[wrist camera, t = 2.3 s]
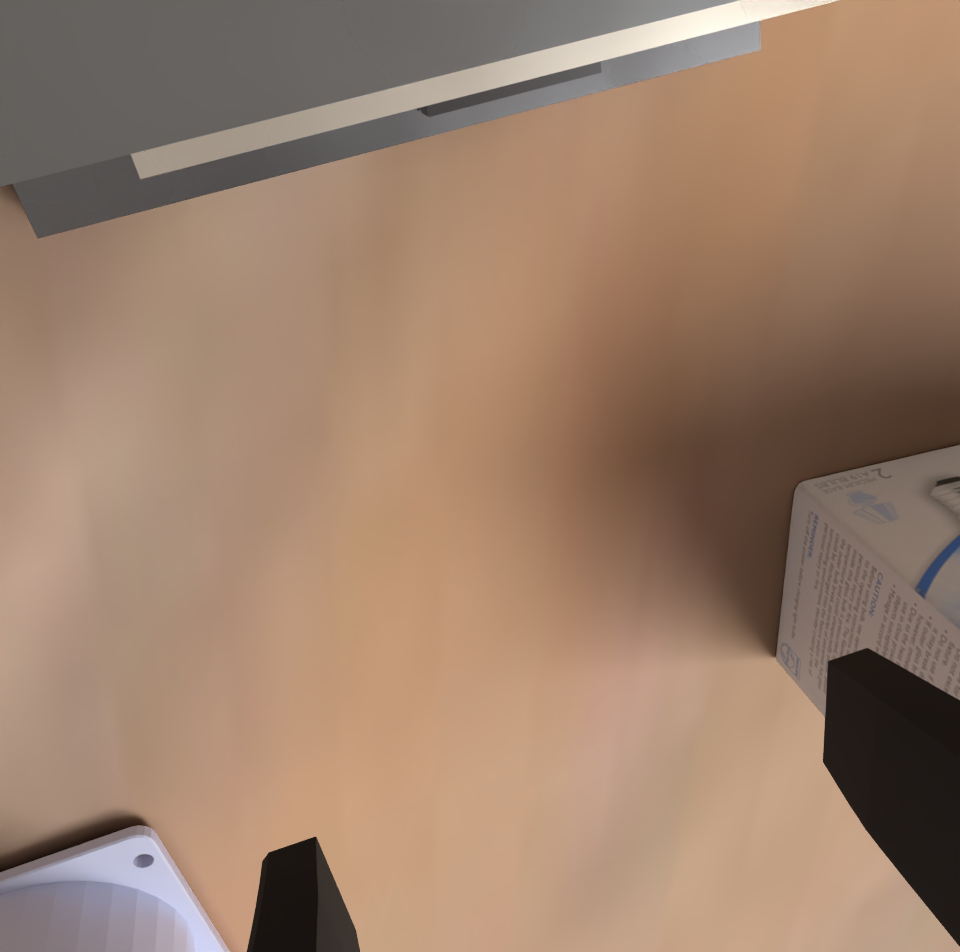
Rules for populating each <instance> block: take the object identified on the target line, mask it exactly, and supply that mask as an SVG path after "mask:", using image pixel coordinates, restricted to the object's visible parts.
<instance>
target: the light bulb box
mask: <svg viewBox="0 0 960 952" xmlns="http://www.w3.org/2000/svg"><path fill="white" fill-rule="evenodd" d="M865 648H869V649H871V650H873V651H874V652H876V653H878V654H880V655H882V656H883V657H885V658H887V659H889V660H890V661H892V662H894V663H896V664H897V665H899V666H901V667H903V668H904V669H906V670H908V671H910V672H911V673H913V674H915V675H917V676H918V677H920V678H922V679H923V680H925V681H927V682H929V683H930V684H932V685H934V686H936V687H937V688H939V689H941V690H943V691H944V692H946V693H948V694H950V695H951V696H953V697H955V698H957V699H959V700H960V445H957V446H952V447H948V448H944V449H939V450H935V451H930V452H926V453H922V454H917V455H913V456H909V457H905V458H900V459H896V460H892V461H888V462H884V463H880V464H875V465H871V466H866V467H862V468H857V469H853V470H848V471H844V472H840V473H836V474H831V475H828V476H824V477H819V478H814V479H810V480H806V481H803V482H801V483H799V484H798V485H797V486H796V489H795V492H794V498H793V506H792V514H791V523H790V531H789V543H788V551H787V559H786V569H785V578H784V587H783V598H782V604H781V616H780V625H779V634H778V643H777V653H776V660H777V662H778V663H779V664H780V665H781V666H782V667H783V669H784V670H785V671H786V672H787V673H788V675H789V676H790V677H791V678H792V679H793V680H794V681H795V683H796V684H797V685H798V686H799V687H800V688H801V690H802V691H803V692H804V693H805V694H806V695H807V697H808V698H809V699H810V700H811V701H812V703H813V704H814V705H815V706H816V707H817V708H818V710H819V711H820V712H821V713H822V714H823V715H824V717H825V711H826V690H827V669H828V661H830V660H833V659H836V658H839V657H842V656H845V655H848V654H850V653H853V652H856V651H859V650H862V649H865Z"/></svg>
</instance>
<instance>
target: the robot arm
mask: <svg viewBox="0 0 960 952" xmlns="http://www.w3.org/2000/svg"><path fill="white" fill-rule="evenodd" d="M823 763H824V764H825V766H826V767H827V769H828V771H829V772H830V774H831V776H832V777H833V779H834V780H835V782H836V784H837V785H838V787H839V789H840V790H841V792H842V793H843V795H844V797H845V798H846V800H847V801H848V803H849V805H850V806H851V808H852V809H853V811H854V812H855V814H856V815H857V817H858V818H859V820H860V821H861V823H862V824H863V826H864V828H865V829H866V830H867V832H868V833H869V834H870V836H871V837H872V838H873V839H874V841H875V842H876V843H877V844H878V846H879V847H880V848H881V850H882V851H883V852H884V853H885V855H886V856H887V857H888V858H889V860H890V861H891V862H892V863H893V865H894V866H895V867H896V868H897V870H898V871H899V872H900V873H901V875H902V876H903V877H904V878H905V880H906V881H907V882H908V883H909V885H910V886H911V887H912V888H913V889H914V891H915V892H916V893H917V894H918V896H919V897H920V898H921V899H922V901H923V902H924V903H925V904H926V906H927V907H928V908H929V909H930V910H931V912H932V913H933V914H934V915H935V917H936V918H937V919H938V920H939V922H940V923H941V924H942V925H943V926H944V928H945V929H946V930H947V931H948V933H949V934H950V935H951V936H952V938H953V939H954V940H955V941H956V943H957V944H958V945H959V946H960V700H959V699H957V698H955V697H953V696H951V695H950V694H948V693H946V692H944V691H943V690H941V689H939V688H937V687H936V686H934V685H932V684H930V683H929V682H927V681H925V680H923V679H922V678H920V677H918V676H917V675H915V674H913V673H911V672H910V671H908V670H906V669H904V668H903V667H901V666H899V665H897V664H896V663H894V662H892V661H890V660H889V659H887V658H885V657H883V656H882V655H880V654H878V653H876V652H874V651H873V650H871V649H869V648H865V649H862V650H859V651H856V652H853V653H850V654H848V655H845V656H842V657H839V658H836V659H833V660H830V661H828V669H827V690H826V711H825V732H824V753H823ZM142 854H148V855H144V856H142ZM0 952H230V951H229V949H228V948H227V946H226V945H225V943H224V941H223V940H222V938H221V937H220V935H219V933H218V932H217V930H216V929H215V927H214V925H213V924H212V922H211V921H210V919H209V917H208V916H207V914H206V912H205V911H204V909H203V908H202V906H201V904H200V903H199V901H198V900H197V898H196V896H195V895H194V893H193V892H192V890H191V888H190V887H189V885H188V884H187V882H186V880H185V879H184V877H183V876H182V874H181V872H180V871H179V869H178V867H177V866H176V864H175V863H174V861H173V859H172V858H171V856H170V855H169V853H168V851H167V850H166V848H165V847H164V845H163V843H162V842H161V840H160V839H159V837H158V835H157V834H156V832H155V831H154V830H153V829H152V828H149V827H146V826H140V825H137V826H132V827H129V828H126V829H123V830H120V831H117V832H114V833H111V834H109V835H106V836H103V837H100V838H97V839H94V840H91V841H89V842H86V843H83V844H80V845H77V846H74V847H71V848H68V849H66V850H63V851H60V852H57V853H54V854H51V855H48V856H46V857H43V858H40V859H37V860H34V861H31V862H28V863H26V864H23V865H20V866H17V867H14V868H11V869H8V870H5V871H3V872H0ZM247 952H360V949H359V944H358V939H357V934H356V929H355V927H354V925H353V922H352V920H351V918H350V915H349V913H348V911H347V908H346V906H345V903H344V901H343V899H342V896H341V894H340V892H339V889H338V887H337V885H336V882H335V880H334V878H333V875H332V873H331V871H330V868H329V866H328V864H327V861H326V859H325V856H324V854H323V852H322V849H321V847H320V845H319V842H318V840H317V838H316V837H313V838H310V839H307V840H304V841H301V842H298V843H296V844H293V845H290V846H287V847H284V848H281V849H278V850H275V851H272V852H269V853H268V854H267V856H266V857H265V859H264V860H263V861H262V869H261V876H260V884H259V890H258V896H257V902H256V908H255V914H254V919H253V924H252V930H251V935H250V940H249V944H248V949H247Z"/></svg>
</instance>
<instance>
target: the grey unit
mask: <svg viewBox="0 0 960 952" xmlns="http://www.w3.org/2000/svg"><path fill="white" fill-rule="evenodd" d="M834 1H838V0H0V187H2V186H6V185H10V184H12V185H13V187H14V189H15V191H16V193H17V195H18V197H19V199H20V202H21V204H22V206H23V208H24V210H25V212H26V214H27V217H28V219H29V221H30V223H31V225H32V227H33V229H34V231H35V234H36V236H37V238H42V237H45V236H49V235H53V234H57V233H61V232H65V231H68V230H72V229H76V228H80V227H84V226H88V225H91V224H95V223H99V222H103V221H107V220H111V219H114V218H118V217H122V216H126V215H130V214H134V213H137V212H141V211H145V210H149V209H153V208H157V207H160V206H164V205H168V204H172V203H176V202H180V201H183V200H187V199H191V198H195V197H199V196H203V195H206V194H210V193H214V192H218V191H222V190H226V189H229V188H233V187H237V186H241V185H245V184H249V183H252V182H256V181H260V180H264V179H268V178H272V177H275V176H279V175H283V174H287V173H291V172H295V171H298V170H302V169H306V168H310V167H314V166H317V165H321V164H325V163H329V162H333V161H337V160H340V159H344V158H348V157H352V156H356V155H360V154H363V153H367V152H371V151H375V150H379V149H383V148H386V147H390V146H394V145H398V144H402V143H406V142H409V141H413V140H417V139H421V138H425V137H429V136H432V135H436V134H440V133H444V132H448V131H452V130H455V129H459V128H463V127H467V126H471V125H475V124H478V123H482V122H486V121H490V120H494V119H498V118H501V117H505V116H509V115H513V114H517V113H521V112H524V111H528V110H532V109H536V108H540V107H544V106H547V105H551V104H555V103H559V102H563V101H567V100H570V99H574V98H578V97H582V96H586V95H589V94H593V93H597V92H601V91H605V90H609V89H612V88H616V87H620V86H624V85H628V84H632V83H635V82H639V81H643V80H647V79H651V78H655V77H658V76H662V75H666V74H670V73H674V72H678V71H681V70H685V69H689V68H693V67H697V66H701V65H704V64H708V63H712V62H716V61H720V60H724V59H727V58H731V57H735V56H739V55H743V54H747V53H750V52H754V51H758V50H761V44H760V20H764V19H768V18H772V17H775V16H779V15H783V14H787V13H791V12H795V11H799V10H803V9H807V8H811V7H814V6H818V5H822V4H826V3H830V2H834Z"/></svg>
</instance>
